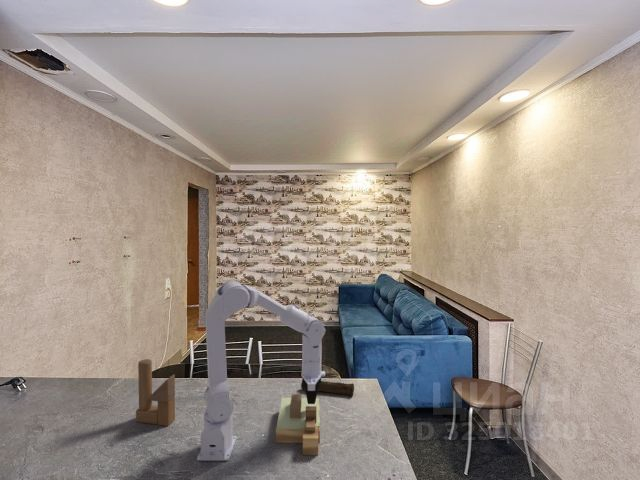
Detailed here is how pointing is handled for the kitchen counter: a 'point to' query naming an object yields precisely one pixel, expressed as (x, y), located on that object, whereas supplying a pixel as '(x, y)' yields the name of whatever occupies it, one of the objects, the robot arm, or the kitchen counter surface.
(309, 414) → the l-shaped wooden piece
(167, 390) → the wooden block
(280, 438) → the wooden slab
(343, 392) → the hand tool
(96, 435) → the kitchen counter surface
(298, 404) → the lid
